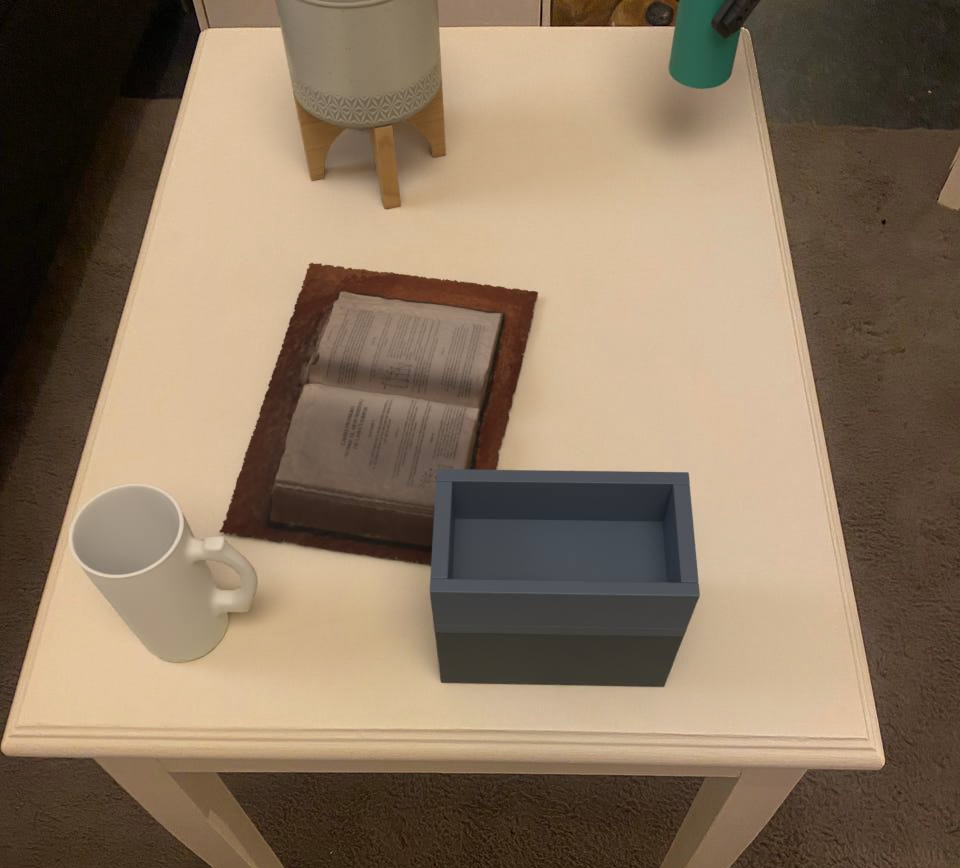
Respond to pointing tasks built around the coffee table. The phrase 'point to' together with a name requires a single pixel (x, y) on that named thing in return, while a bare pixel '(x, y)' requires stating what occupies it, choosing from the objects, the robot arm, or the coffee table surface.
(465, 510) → the open storage box
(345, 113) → the planter
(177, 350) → the coffee table surface
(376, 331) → the book
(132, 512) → the mug
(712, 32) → the plastic bottle
